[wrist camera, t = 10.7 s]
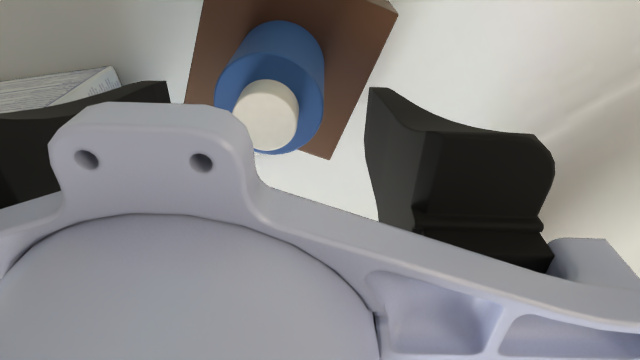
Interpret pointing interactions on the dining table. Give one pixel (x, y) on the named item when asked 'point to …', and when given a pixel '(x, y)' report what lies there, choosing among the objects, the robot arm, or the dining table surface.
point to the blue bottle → (275, 86)
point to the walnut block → (328, 30)
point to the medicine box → (55, 88)
